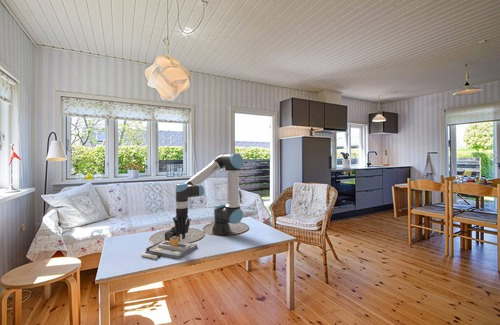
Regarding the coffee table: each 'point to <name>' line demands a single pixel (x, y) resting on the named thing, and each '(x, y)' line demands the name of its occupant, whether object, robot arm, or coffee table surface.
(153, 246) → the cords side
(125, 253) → the coffee table surface
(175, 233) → the camera
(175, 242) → the breaker lever
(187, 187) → the robot arm
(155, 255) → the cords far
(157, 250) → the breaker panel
